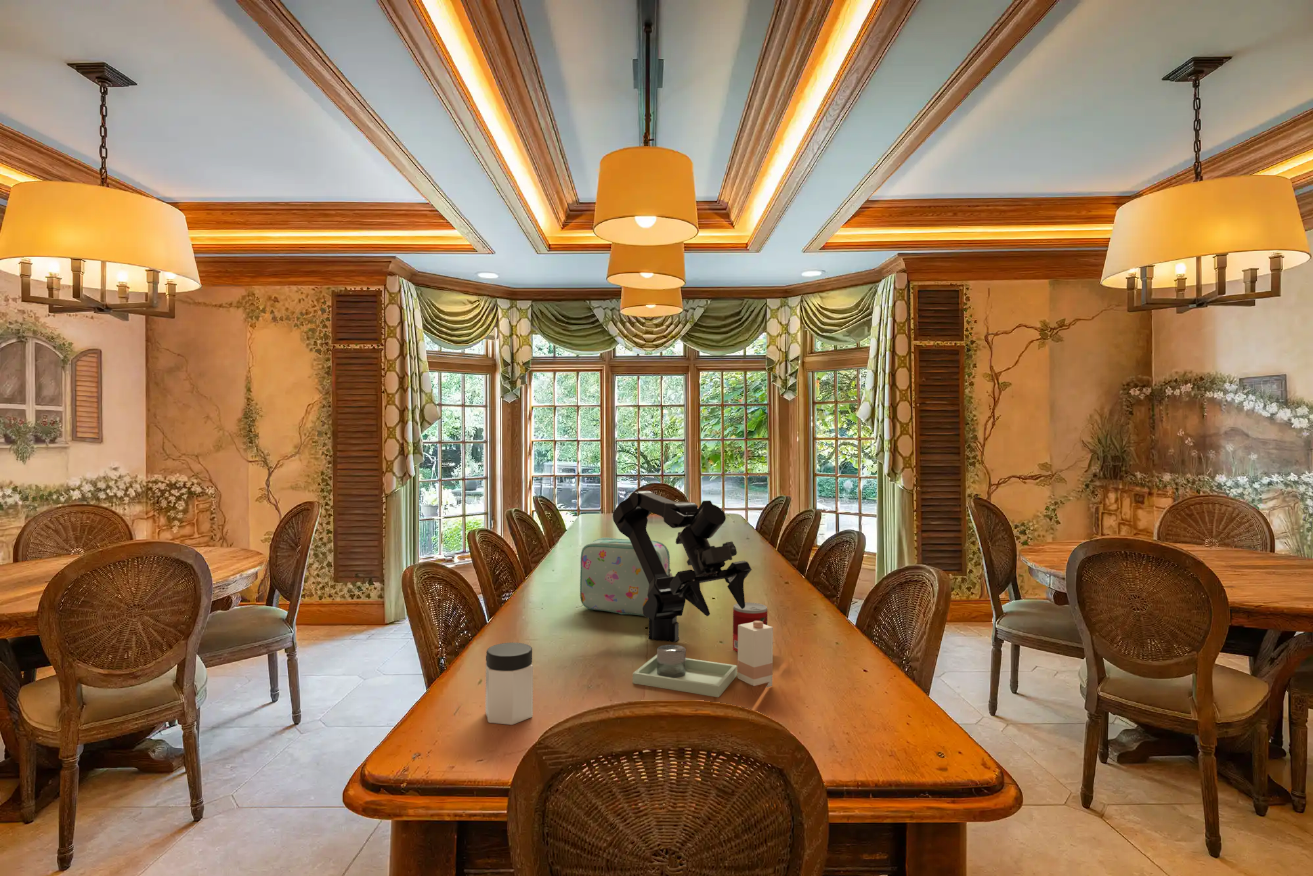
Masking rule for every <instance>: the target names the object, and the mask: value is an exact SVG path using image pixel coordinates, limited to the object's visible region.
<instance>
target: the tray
mask: <svg viewBox="0 0 1313 876" xmlns="http://www.w3.org/2000/svg"><path fill="white" fill-rule="evenodd" d="M737 665H738V664H737ZM737 665H736V664H731V663H723V662H716V661H708V660H701V659H694V658H689V657H686V674H685V675H684V676H682V677H679V678H670V677H664V676H659V675H658V674H657V654H655V655H654V656H653V657H651V658H650V659H649V660H648V661H646V662H645V663H644V664H643V665H641V666H640V667H639V668H637V669H636V670H635V671H633V672H632V684H634V685H640V686H641V685H642V686H645V687H646V686H647V687H653V688H658V689H666V690H671V691H675V692H676V691H677V692H683V693H688V694H694V695H695V694H696V695H702V696H708V697H715V698H719V697H720V696H721V695H722V694H723V693H724V692H725V690H727V688H728V687H729V686H730V685H731V684H732V682H733V681H734V680H735V679H736V678H737V677H738V672H737Z"/></svg>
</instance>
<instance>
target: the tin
mask: <svg viewBox="0 0 1313 876" xmlns="http://www.w3.org/2000/svg"><path fill="white" fill-rule="evenodd" d="M686 651H687V648H685V647H684V646H682V645H679V644H678V645H676V644H664V645H660V646H658V647H657V649H656V655H657V674H658V675H659V676H664V677H670V678H679V677H682V676H684V675H685V674H686V658H687V657H686V656H687V655H686V654H687V652H686Z"/></svg>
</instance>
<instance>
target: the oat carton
mask: <svg viewBox="0 0 1313 876" xmlns="http://www.w3.org/2000/svg"><path fill="white" fill-rule="evenodd" d="M773 640H774V627H773V626H770V625H768V624H767V625H765V624H763V622H762V621H753V622H751V623H745V624H740V625H738V652H737V676H736V678H737V679H739V680H740V681H742V682H745V683H746V684H748V685H750V686H753V687H756V686H759V685H763V684H767V685H766V686H765V688H770V687H773V673H774V671H773V669H774V667H773V657H774V655H773V650H774V649H773V647H774V646H773V645H774V641H773Z"/></svg>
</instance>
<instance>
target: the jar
mask: <svg viewBox="0 0 1313 876" xmlns="http://www.w3.org/2000/svg"><path fill="white" fill-rule="evenodd" d="M485 652H486V653H485V654H486V655H485V715H486V719H487V723H489V724H499V725H510V726H512V725H515V724H518V723H520V722H523V721H525V720H528V719H530V718H532V717H533V716H534V715H533V714H534V713H533V711H534V707H533V706H534V705H533V704H534V699H533V698H534V665H533V647H532V646H531V645H529V644H528V643H523V642H502V643H498V644H497V643H496V644H494V645H492V646H490V647H488V648H487V649H486V651H485Z"/></svg>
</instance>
